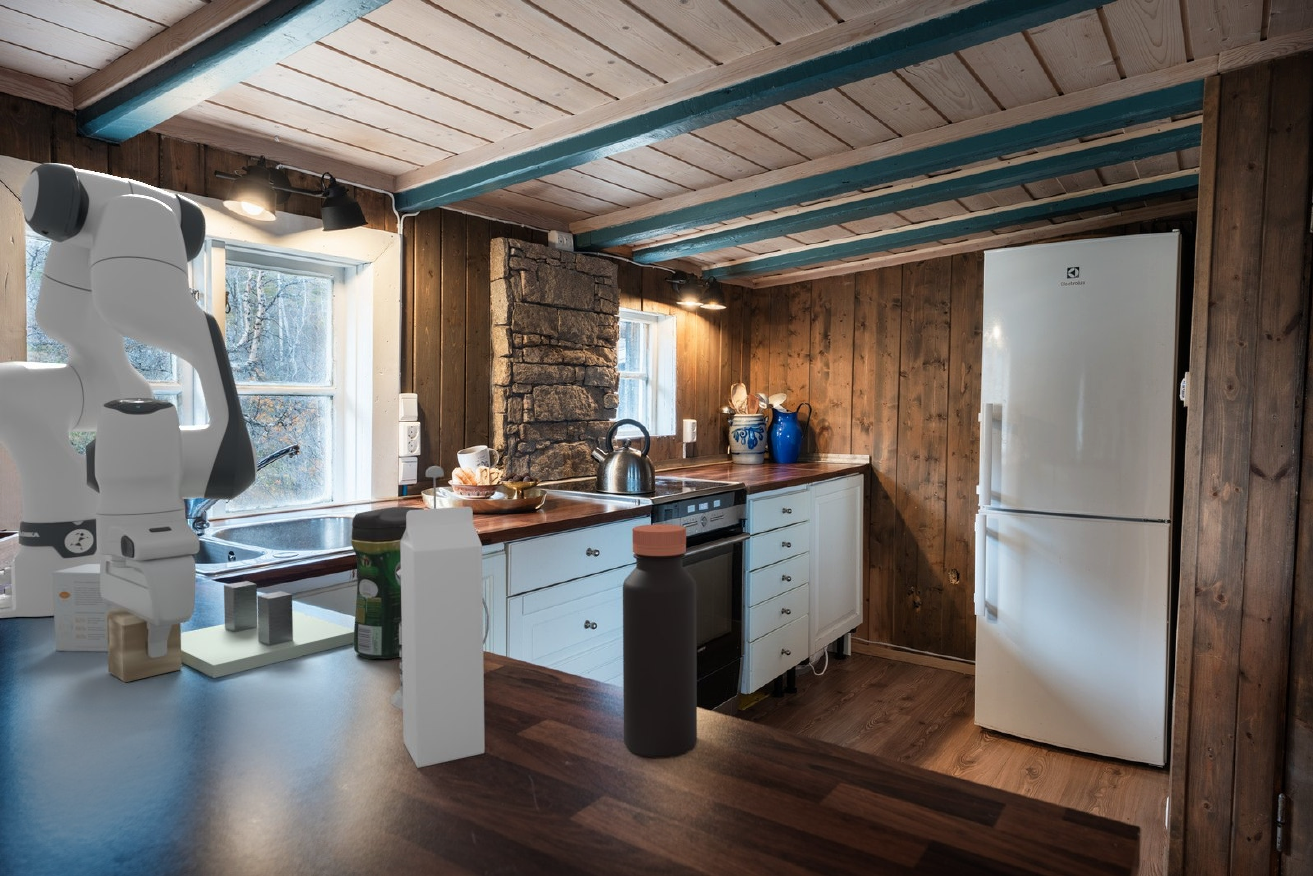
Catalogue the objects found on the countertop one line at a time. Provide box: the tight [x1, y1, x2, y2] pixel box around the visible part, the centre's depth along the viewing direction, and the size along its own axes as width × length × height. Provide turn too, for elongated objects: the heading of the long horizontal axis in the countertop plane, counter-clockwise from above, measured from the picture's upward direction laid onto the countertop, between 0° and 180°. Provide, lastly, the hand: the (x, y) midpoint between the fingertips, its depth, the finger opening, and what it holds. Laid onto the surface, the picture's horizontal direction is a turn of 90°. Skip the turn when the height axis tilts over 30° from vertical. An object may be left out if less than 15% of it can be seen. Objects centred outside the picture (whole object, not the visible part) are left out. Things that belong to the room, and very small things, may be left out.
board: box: [181, 609, 354, 679], centre depth 102 cm, size 18×18×2 cm
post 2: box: [257, 590, 293, 646], centre depth 99 cm, size 3×3×8 cm
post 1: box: [223, 580, 258, 632], centre depth 105 cm, size 3×3×8 cm
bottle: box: [622, 523, 698, 759], centre depth 71 cm, size 7×7×20 cm
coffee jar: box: [350, 506, 424, 660], centre depth 100 cm, size 10×8×19 cm
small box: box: [52, 564, 118, 653], centre depth 103 cm, size 8×6×10 cm
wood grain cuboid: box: [107, 609, 182, 683], centre depth 92 cm, size 6×6×7 cm
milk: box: [400, 506, 485, 769], centre depth 70 cm, size 6×6×22 cm
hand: (145, 650), depth 92 cm, fingers closed on wood grain cuboid, 6 cm apart
